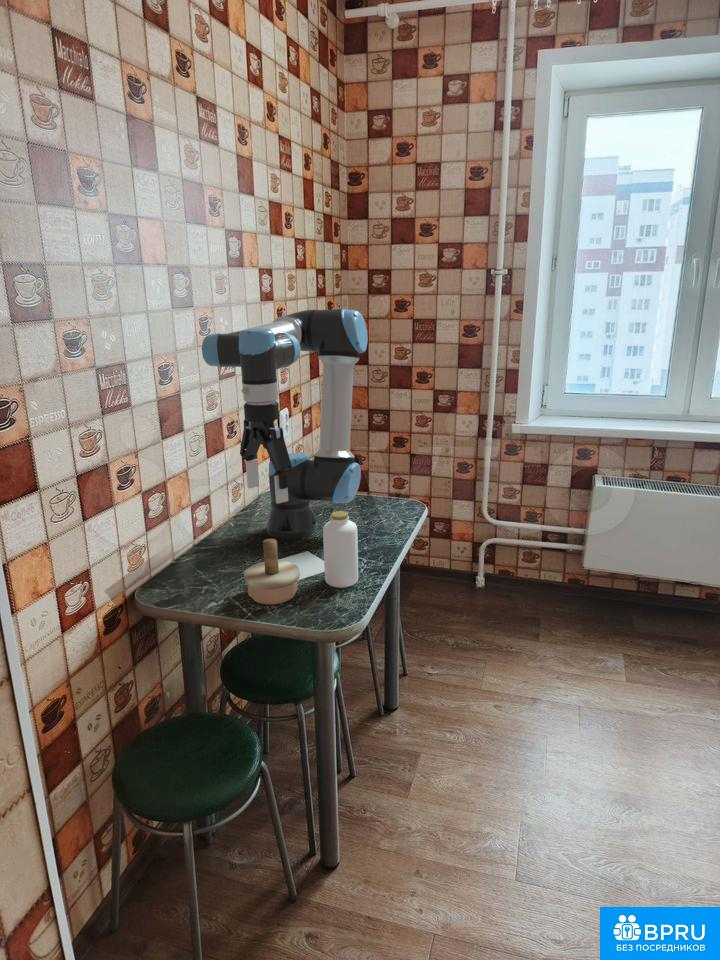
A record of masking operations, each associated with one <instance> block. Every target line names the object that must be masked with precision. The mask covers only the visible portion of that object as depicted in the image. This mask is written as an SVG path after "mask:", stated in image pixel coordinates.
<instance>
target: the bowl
mask: <svg viewBox="0 0 720 960" xmlns="http://www.w3.org/2000/svg"><path fill="white" fill-rule="evenodd" d="M298 585H299V584H298V580H297V581H296V582H295V583H293V584H291V585H289V586H286V587H282V588H277V589H258V588H254V587H251V586H249V585H248V584H247V591H248V593H247V594H248V596H249V597H250V598H251V599H252V601H254V602H256V603H258V604H261V605H270V606H272V605H279V604H284V603H286V602H288V601H291V600H292V599H293V598H294V596H295V595H296V593H297V591H298Z"/></svg>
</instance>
